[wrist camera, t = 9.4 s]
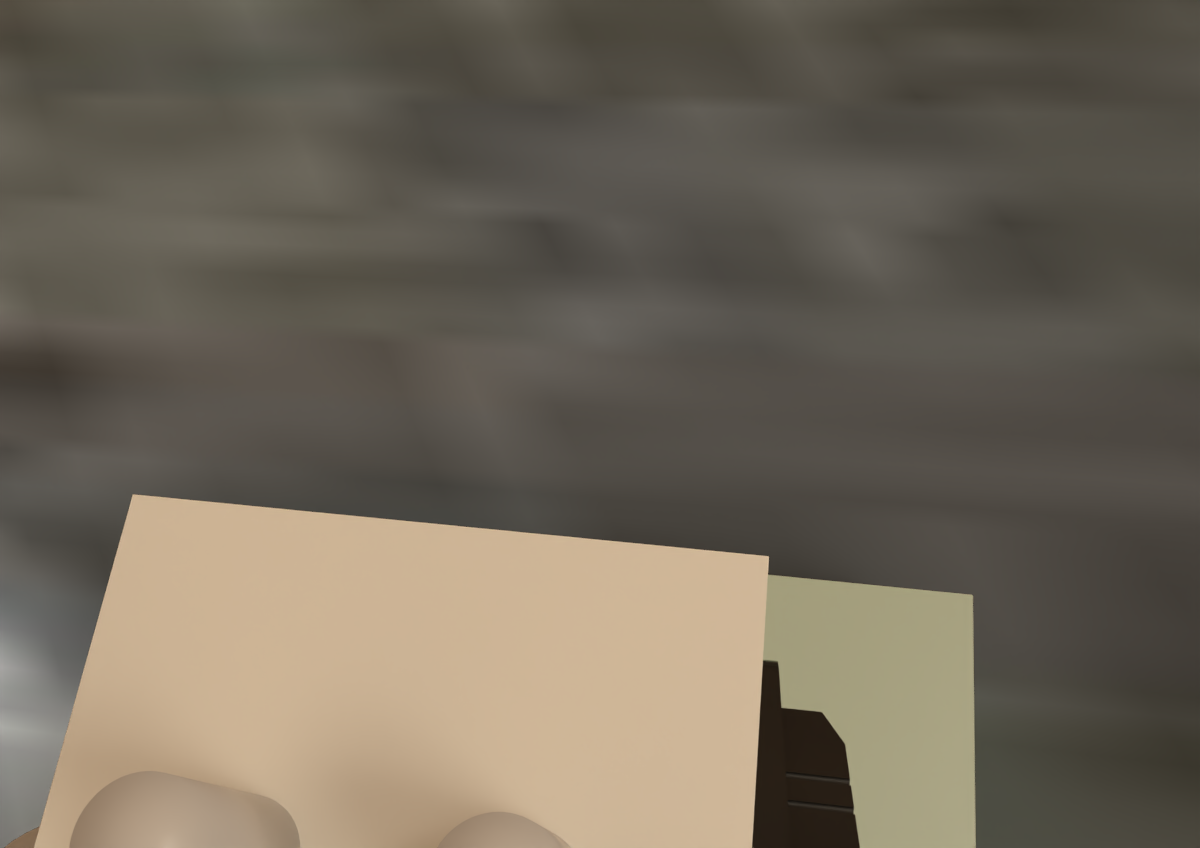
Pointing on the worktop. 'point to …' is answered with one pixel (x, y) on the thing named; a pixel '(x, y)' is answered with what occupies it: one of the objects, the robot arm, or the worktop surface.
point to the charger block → (410, 688)
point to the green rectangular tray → (886, 699)
